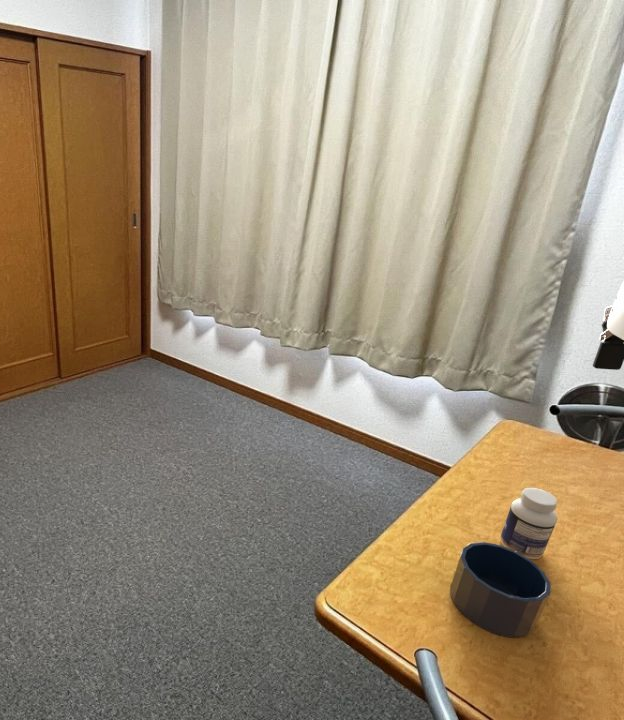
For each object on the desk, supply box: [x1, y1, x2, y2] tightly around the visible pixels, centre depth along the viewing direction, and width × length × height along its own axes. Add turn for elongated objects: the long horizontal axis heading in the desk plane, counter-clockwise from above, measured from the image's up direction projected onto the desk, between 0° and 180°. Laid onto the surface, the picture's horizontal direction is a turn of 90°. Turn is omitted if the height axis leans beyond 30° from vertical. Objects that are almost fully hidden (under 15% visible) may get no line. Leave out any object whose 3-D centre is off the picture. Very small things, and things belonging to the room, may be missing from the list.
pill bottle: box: [499, 487, 558, 560], centre depth 71 cm, size 5×5×10 cm
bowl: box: [449, 541, 552, 639], centre depth 62 cm, size 9×9×6 cm
